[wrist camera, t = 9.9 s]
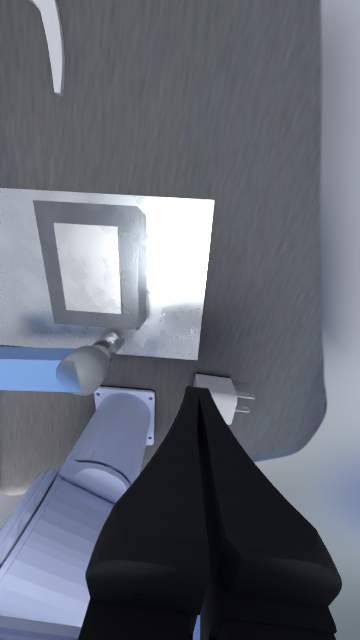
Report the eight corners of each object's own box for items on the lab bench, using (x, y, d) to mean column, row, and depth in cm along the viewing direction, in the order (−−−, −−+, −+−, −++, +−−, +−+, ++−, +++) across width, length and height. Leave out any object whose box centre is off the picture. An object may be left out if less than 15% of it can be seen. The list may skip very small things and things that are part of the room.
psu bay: (197, 355, 22) (199, 383, 17) (4, 340, 22) (-47, 363, 17) (212, 203, 16) (222, 180, 12) (-38, 189, 17) (-128, 161, 12)
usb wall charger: (195, 371, 22) (197, 393, 19) (250, 378, 22) (263, 402, 19) (191, 396, 24) (191, 422, 20) (242, 403, 24) (252, 431, 20)
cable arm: (108, 346, 16) (96, 357, 14) (112, 380, 17) (103, 396, 15) (-73, 342, 16) (-107, 353, 14) (-56, 375, 17) (-86, 389, 16)
